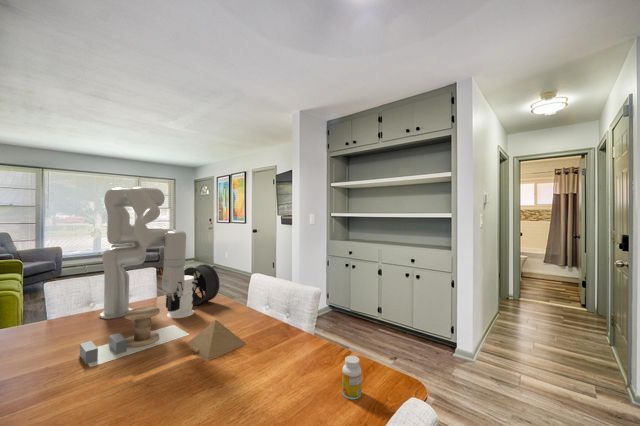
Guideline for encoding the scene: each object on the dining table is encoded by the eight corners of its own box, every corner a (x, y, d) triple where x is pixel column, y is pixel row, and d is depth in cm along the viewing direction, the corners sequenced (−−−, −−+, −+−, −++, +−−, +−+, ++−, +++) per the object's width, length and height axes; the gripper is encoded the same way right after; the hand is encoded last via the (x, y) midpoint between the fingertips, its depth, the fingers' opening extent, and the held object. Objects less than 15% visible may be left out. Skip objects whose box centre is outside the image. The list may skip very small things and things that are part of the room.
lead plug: (165, 309, 111) (166, 292, 111) (175, 307, 114) (176, 290, 114) (169, 312, 109) (170, 294, 108) (179, 309, 112) (180, 292, 111)
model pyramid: (180, 348, 103) (180, 320, 103) (221, 332, 117) (222, 308, 117) (205, 363, 93) (205, 333, 93) (247, 344, 107) (248, 318, 107)
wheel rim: (219, 303, 152) (219, 266, 152) (206, 308, 144) (207, 269, 144) (191, 297, 160) (192, 262, 160) (177, 302, 152) (178, 265, 152)
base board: (79, 355, 96) (79, 352, 96) (173, 327, 120) (173, 324, 120) (90, 371, 87) (90, 367, 87) (189, 337, 111) (189, 334, 111)
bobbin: (119, 340, 104) (120, 312, 104) (152, 331, 113) (152, 305, 113) (130, 350, 97) (130, 320, 97) (164, 339, 106) (164, 311, 106)
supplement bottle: (340, 388, 81) (341, 354, 81) (358, 387, 82) (359, 354, 82) (343, 400, 76) (344, 364, 76) (363, 399, 76) (364, 364, 76)
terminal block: (79, 355, 93) (79, 343, 93) (118, 343, 102) (119, 332, 102) (85, 364, 88) (85, 351, 88) (126, 351, 97) (126, 339, 97)
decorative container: (186, 310, 141) (186, 274, 141) (199, 315, 134) (199, 277, 134) (162, 316, 132) (162, 278, 131) (174, 322, 125) (175, 282, 125)
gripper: (155, 260, 113) (153, 305, 114) (174, 267, 103) (172, 317, 103) (174, 258, 119) (173, 301, 119) (194, 264, 109) (192, 311, 109)
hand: (172, 308), depth 111 cm, fingers closed on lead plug, 3 cm apart
